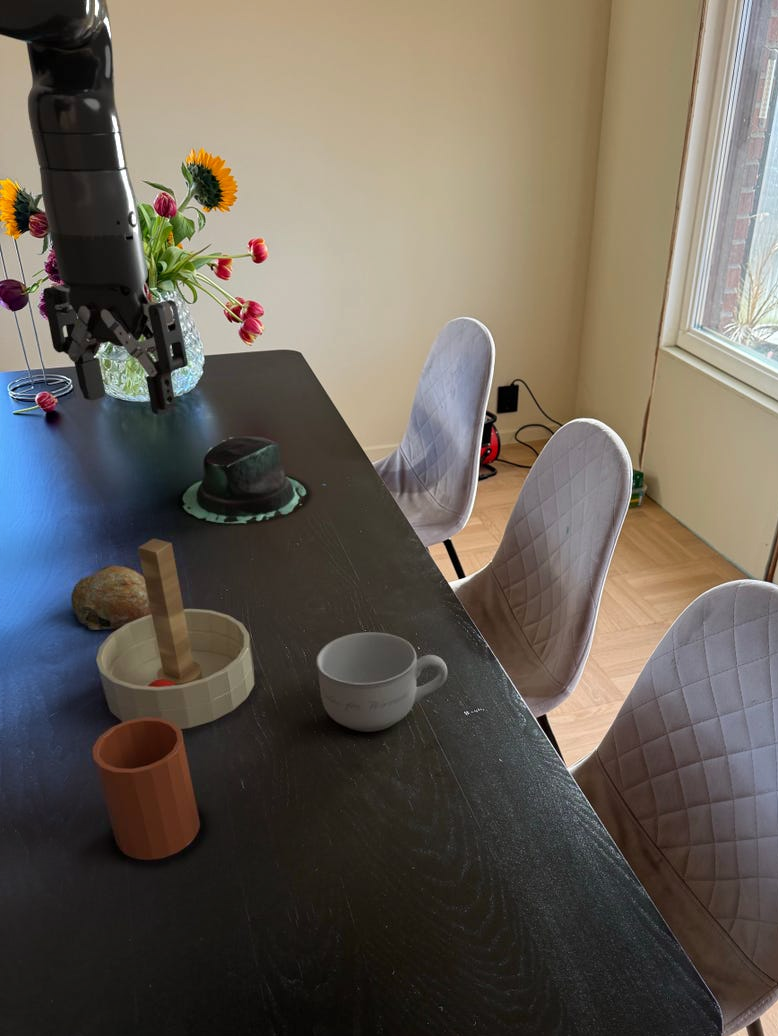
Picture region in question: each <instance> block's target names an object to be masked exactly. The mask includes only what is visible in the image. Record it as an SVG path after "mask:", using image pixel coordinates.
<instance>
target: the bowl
mask: <svg viewBox="0 0 778 1036" xmlns="http://www.w3.org/2000/svg"><path fill="white" fill-rule="evenodd" d="M183 609H184V614H185V620H186V625H187V631H188V636H189V642H190V647H191V653H192V659H193V661H195V662H197V663H198V664H199V665H200V666H201V670H202V676H203V679H201V680H197V681H193V682H190V683H186V684H182V685H174V686H164V687H150V686H148V685H149V684H150V683H152V682H153V681H155V680H158V677H157V673H158V670H159V669H160V668H161V667H162V662H161V658H160V653H159V648H158V643H157V638H156V633H155V628H154V623H153V618H152V614H151V615H147V616H144V617H142V618H139V619H137V620H135V621H132V622H130V623H127V624H125V625H124V626H122V627H121V628H117V629H115V631H113V632H112V633H110V634H108V636H107V637H106V638H105V640H104V641H103V642H102V643H101V644H100V646H98V650H97V655H96V659H95V662H96V666H97V670H98V674H99V678H100V682H101V686H102V690H103V694H104V698H105V701H106V704H107V707H108V709H109V712H110V713H111V714H113V715H114V716H115V717H116V718H117V719H118V720H120V722H121V723H123V722H125V721H128V720H133V719H138V718H143V717H144V718H145V717H149V718H162V719H165V720H168V721H171V722H173V723H175V724H176V725H177V726H178V727H179V728H180V729H181V730H185V729H191V728H195V727H198V726H201V725H205V724H208V723H211V722H214V721H216V720H217V719H219V718H222V717H223V716H225V715H227V714H229V713H231V712H233V711H235V710H236V708H238V707H239V706H240V705H242V704H243V702H245V701H246V700H247V698H248V697H249V695H250V693H251V692H252V690H253V688H254V686H255V667H254V659H253V651H252V645H251V638H250V637H251V636H250V633H249V632H248V630H247V629H246V627H245V625H244V624H243V623H242V622H241V621H239V620H237V619H235V618H234V617H232V616H231V615H228V614H226V613H223V612H219V611H216V610H215V611H214V610H211V609H201V608H199V609H198V608H183Z"/></svg>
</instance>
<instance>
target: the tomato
mask: <svg viewBox="0 0 778 1036" xmlns="http://www.w3.org/2000/svg"><path fill="white" fill-rule="evenodd" d="M174 685H175V684H174V683H173V682H171V681H169V680H165V679H159V680H155V681H153V682H152V683H150V684H149V685H148V686H150V687H164V686H174Z"/></svg>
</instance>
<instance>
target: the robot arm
mask: <svg viewBox="0 0 778 1036" xmlns="http://www.w3.org/2000/svg"><path fill="white" fill-rule="evenodd" d="M0 36H4V37H6V38H11V39H14V40H17V41H21V42H23V43H26V49H27V54H28V55H27V56H28V60H29V68H30V72H31V80H32V81H31V82H32V83H31V89H30V90H29V93H28V96H27V113H28V119H29V126H30V130H31V134H32V135H31V136H32V141H33V145H34V149H35V154H36V159H37V163H38V166H39V174H40V182H41V183H40V184H41V195H42V201H43V206H44V212H45V216H46V221H47V224H48V225H47V226H48V228H49V234H50V238H51V243H52V247H53V253H54V257H55V262H56V267H57V271H58V276H59V279H60V281H61V282H62V283H63V284H58V285H54V286H50V287H45V288H44V289H43V290H42V294H43V299H44V304H45V310H46V315H47V316H46V317H47V321H48V326H49V331H50V337H51V342H52V343H51V344H52V347H53V349H54V350H55V352H57V353H59V354H60V353H61V354H62V353H64V354H66V355H68V358H69V359H70V361H72V362H73V363H74V367H75V372H76V376H77V381H78V385H79V389H80V391H81V393H82V395H83V398H84V399H85V400H87V401H93V402H94V401H96V400H98V399H101V398H104V397H105V395H106V388H105V383H104V378H103V372H102V368H101V363H100V358H98V357H96V356H97V354H98V351H99V349H100V347H101V345H102V344H105V343H110V344H112V345H114V346H117V347H124V349H125V350H126V352H127V353H128V355H129V356H131V357H132V358H136V360H137V361H138V362H139V363H140V365H141V366H142V368H143V370H144V371H145V373H146V374H147V376H145V380H146V386H147V392H148V397H149V403H150V409H151V413H152V414H154V415H157V416H163V415H165V414H167V413H170V412H171V411H172V410H174V406H175V404H176V397H175V392H174V386H173V380H172V373H173V372H174V371H176V370H180V369H183V368H185V367H187V366H188V362H189V360H188V356H187V351H186V346H185V339H184V334H183V329H182V325H181V319H180V315H179V309H178V305H177V304H176V302H175V301H174V300H172V299H169V300H163V301H160V302H158V301H150V300H149V298H148V296H147V294H146V290H145V283H146V281H147V279H148V277H149V271H148V265H147V260H146V254H145V248H144V247H145V246H144V241H143V236H142V229H141V224H140V223H141V222H140V216H139V211H138V205H137V198H136V195H135V190H134V187H133V184H132V181H131V176H130V172H129V167H128V162H127V157H126V156H127V155H126V150H125V144H124V138H123V133H122V127H121V122H120V119H119V113H118V108H117V103H116V93H115V69H114V51H113V38H112V28H111V20H110V13H109V7H108V3H107V0H0ZM64 327H65V329H66V335H67V336H65V333H64V332H65V331H64ZM142 336H143V338H144V339H143V340H142V341H141V340H140V339H141V338H142ZM170 346H171V347H170ZM151 355H152V356H153V357H152V356H151ZM153 358H154V359H155V360H154V359H153Z"/></svg>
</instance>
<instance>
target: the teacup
mask: <svg viewBox="0 0 778 1036" xmlns="http://www.w3.org/2000/svg"><path fill="white" fill-rule="evenodd" d="M417 658H418V657H417V652H416V649H415V648H414V647H413V645H412V644H411V643H410V642H409V641H408V640H406V639H405V638H402V637H400V636H397V635H394V634H390V633H385V632H376V631H375V632H374V631H367V632H357V633H352V634H347V635H344V636H340V637H338V638H336V639H334V640H332V641H330V642H329V643H327V644H325V645H324V647H322V648H321V650H319V652H318V654H317V655H316V659H315V660H316V661H315V662H316V663H315V665H316V668H317V671H318V684H319V691H320V697H321V702H322V705H323V708H324V710H325V712H326V713H327V715H329V717H330V718H331V719H332V720H333V721H335V722H336V723H338V724H339V725H341V726H344V727H346V728H348V729H350V730H354V731H358V732H367V733H369V732H370V733H371V732H378V731H382V730H385V729H388V728H390V727H392V726H393V725H395V724H396V723H398V722H400V721H401V720H403V719H404V718H405V717H406V716H407V715H408V714H409V713H410V711H412V709H413V706H414V703H418V702H420V701H421V700H422V699H423V697H425V696H427V695H429V694H431V693H433V692H435V691H436V690H438V689H439V688H441V687H442V686H443V685H444V684H445V682H446V680H447V676H448V667H447V665H446V662H445V660H444V659H442V658H441V657H439V656H437V655H434V654H426V655H424V656H421V657H419V658H418V659H417ZM426 667H435V668H436V669H437V670H438V674H437V676H436V677H435V678H433V679H432V680H430V681H429V682H427V683H426V684H423V685H419V686H417V679H419V677H420V675H421V672H422V671H423V669H424V668H426Z"/></svg>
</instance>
